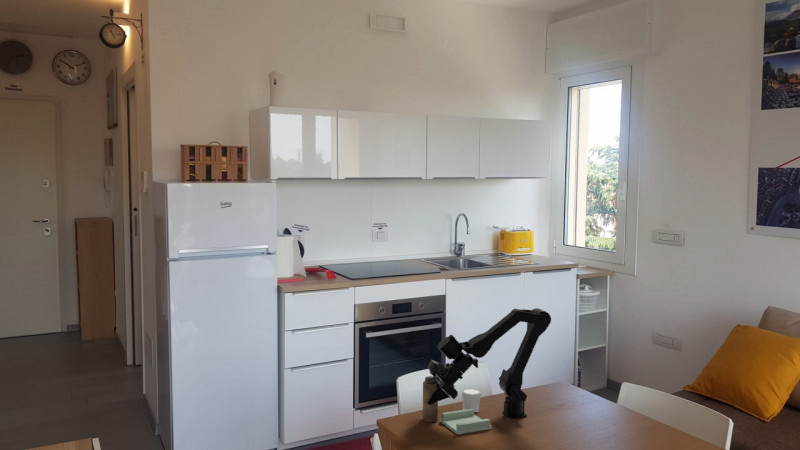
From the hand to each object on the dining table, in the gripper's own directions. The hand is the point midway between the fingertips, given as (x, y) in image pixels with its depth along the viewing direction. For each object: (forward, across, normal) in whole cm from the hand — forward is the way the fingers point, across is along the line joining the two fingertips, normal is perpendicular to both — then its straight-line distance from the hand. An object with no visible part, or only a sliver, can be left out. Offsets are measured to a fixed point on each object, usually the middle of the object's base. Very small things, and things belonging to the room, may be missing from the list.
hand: (426, 400), depth 212 cm
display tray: (-4, +7, +13) cm, 15 cm away
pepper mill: (+4, 0, +6) cm, 7 cm away
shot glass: (-8, -7, +18) cm, 21 cm away
